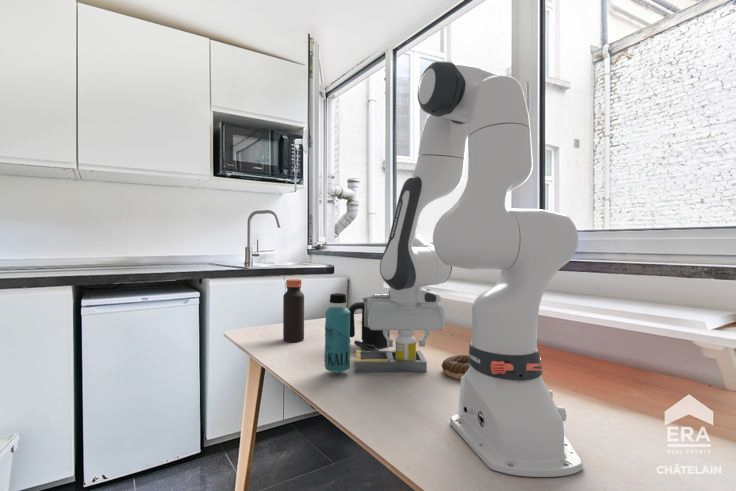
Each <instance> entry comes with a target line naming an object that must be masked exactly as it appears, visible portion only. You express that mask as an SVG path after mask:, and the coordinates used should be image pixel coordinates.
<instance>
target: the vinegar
mask: <svg viewBox="0 0 736 491" xmlns="http://www.w3.org/2000/svg"><path fill="white" fill-rule="evenodd" d="M285 282H286V283H285V284H286V285H285V286H286V289H287V290H286V292H284V294H283V298H282V303H283V304H282V309H283V310H282V312H283V315H282V318H283V319H282V320H283V322H282V323H283V324H282V334H283V335H282V337H283V342H285V341H286V342H285V343H292V342H293V343H298V342H297V341H300V342H303V341H304V340H303V339H305V295H304V293H303V292H302V290H301V289H302V279H299V278H295V279H293V278H291V279H290V278H289V279H286V281H285ZM302 340H303V341H302Z"/></svg>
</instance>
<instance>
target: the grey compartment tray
mask: <svg viewBox="0 0 736 491" xmlns="http://www.w3.org/2000/svg"><path fill="white" fill-rule="evenodd" d="M427 364H428V362H427V360H426V358H425V356H424V354H423V352H422V350H416V360H396V350H379V351H365V350H362V349H356V350H355V373H427Z"/></svg>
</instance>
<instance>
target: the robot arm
mask: <svg viewBox="0 0 736 491" xmlns="http://www.w3.org/2000/svg"><path fill="white" fill-rule="evenodd" d="M417 100H418V104H419V106H420V108H421V110H422V111H423V112H425V113H426V114H428V115H427V117H426V119H425V122H424V125H423V128H422V131H421V132H422V133H421V136H420V141H419V146H418V152H417V153H418V154H417V160H416V164H415V168H414V170H413V173H412V174H411V176H410V177H409V178H408V179H406V180H405V181H404V182H403V185H402V188H401V190H400V194H399V196H398V200H397V205H396V207H395V212H394V215H393V220H392V224H391V229H390V232H389V236H388V241H387V243H386V246H385V248H384V250H383V251H384V252H383V254H382V255H381V259H380V262H379V273H380V275H381V277H382V278H381V279H382V280H383V281H384V282H385V283H386V285H387V286H389V293H388V294H387V293H386V294H385V293H383V294H376V293H375V294H372V295H370V296H368V297H369V298H368V300H367V309H368V310H369V317H368V327H369V328H370V329H371V330H383V335H384V336H385V338H386V340H387V347H386V348H390V347H391V348H393V346H394V345H393V343H394V339H393V338H390V339H389V337H388V335H387V334H389V333H390V331H398V330H413V331H422V333H423V336H422V337H421V338H418V347H419V348H425V347H426V341H427V339H428V337H429V335H430V331H442V330H444V328H445V327H446V319H445V318H446V317H445V311H444V308H443V306H442V304H440V303H441V297H442V296H441V295H440V294H439V293H438V292H437V291H433V290H430V289H428V288H424V287H428V286H436V285H441V284H444V283H447V281H448V280H449V278H450V276H451V275H452V271H453V268H454V267H455V268H458V269H464V270H475V271H476V270H478V271H479V270H481V271H482V270H483V271H484V270H488V271H489V270H490V271H491V270H493V271H494V270H500V274H499V278H498V279H497V281H496V283H495V284H494V285H493V286H492V287H491V288H489V289H487V290H486V291H484V292H481V293H480V294H479V295H478V296H477V297H476V298H475V300H474V302H473V304H472V306H471V342H470V343H469V348H468V354H467V355H468V356H469V364H470V367H469V369H468V371H467V372H466V373H465V374H464V375H463V376H462V377H461V380H460V387H459V399H458V400H459V402H458V405H459V406H458V413H455V414H453V415H452V416H450V420H449V422H450V423H449V424H450V426H452V428H453V429H454V430H455V431H456V432H457V433H458V434H459V436H460V437H462V439H463V440H464V441H465V442H466V443H467V445H468V446H469V447H470V448H471V449H472V451H473V452H474V453H475V454H477V456H478V457H479V458H480V460H482V461H483V463H484V464H485V465H486V466H487V467H488V468H489V469H491V470H492V471H496V472H499V473H503V474H507V475H512V476H521V477H531V478H532V477H534V478H535V477H536V478H548V477H552V478H553V477H554V478H555V477H563V476H570V475H574V474H577V473H579V472H581V471H582V470H583V469H584V466H583V465H584V464H583V460H582V459H581V457H580V456H579V454H578V453H577V452H576V449H575V448H574V447H573V445H572V444H571V442H570V441H569V439H568V438H567V436H566V435H565V430H564V428H565V427H564V422H566V421H567V412H566V408H565V407H564V406H561V405H556V403H555V401H554V399H553V391H552V390H551V389H550V390H549V389H548V387H547V385H546V382H545V381H544V379H543V373H544V372H543V367H542V366H543V362H542V358H541V356H540V350H539V348H538V347H537V346H538V344H537V343H538V342H537V341H538V340H537V339H538V323H539V322H538V321H539V312H540V311H539V310H540V305H541V301H542V299H543V295H544V293H545V290H547V289H546V288H547V286H548V285H549V283H550V281H551V280H552V279H553V277H554V276H555V274H556V273H557V272H558V271H560V270H561V268H562V267H564V266H565V265H566V264H568V263H569V262H570V261H571V260H572V259H573V258H574V257H575V254H576V251H577V249H578V247H579V234H578V230H577V228H576V225H575V223H574V221H573V220H572V219H571V218H570V217H569V216H568V215H566V214H564V213H559V212H555V211H552V210H547V209H540V208H508V207H507V206H506V200H507V199H506V198H507V194H508V193H510V192H511V191H513V190H515V189H516V188H519V187H520V186H522V185H523V184H524V183H525V182H526V181H528V179H529V177H530V176H531V175H532V173H533V172H532V171H533V169H534V168H533V167H534V165H533V164H534V163H533V161H534V160H533V147H532V135H531V134H532V133H531V123H530V122H531V121H530V115H529V110H528V109H529V108H528V104H527V100H526V96H525V94H524V90H523V87H522V84H521V83H520V82H519V80H517V79H516V78H515V77H513V76H510V75H506V74H498V73H495V72H492V71H490V70H487V69H483V68H480V67H479V66H476V65H470V64H463V63H453V62H452V61H450V60H439V61H434V62H432V63H431V64H429V65H428V67H426V69H425V70H424V71H423V72H422V75H421V76H420V79H419V82H418V87H417ZM467 145H468V146H467ZM467 148H468V151H467ZM467 152H468V153H467ZM466 154H467V155H468V159H467V160H468V166H467V179H466V183H465V186H464V189H463V191H462V193H461V195H460V196H459V199H458V200H457V201H456V203H455V204H454V205H453V206H452V207H450V209H449V210H447V211H446V212H445V213H444V214H442V215H441V216H440V218H439V219H438V221H437V222H436V224H435V227H434V229H433V233H432V234H433V235H432V243H430V242H428V241H427V240H425V239H424V237H423V236H422V235H421V234H420V233H417V232H416V230H417V228H418V227H417V226H418V222H419V220H420V219H419V218H420V216H421V214H422V211H423V210H424V208H425V207H426V206H427V205H429V204H431V203H433V202H434V201H435V200H437V199H438V200H439V199H441V198H442V197H445V196H447V195H450V194H451V193H453V192H454V191H455V190H456V189H457V188H458V187H459V185H460V184H461V182H462V181H463V180H462V179H463V176H464V172H465V165H466V156H467V155H466ZM372 297H373V298H372ZM389 298H390V300H389ZM389 330H390V331H389Z"/></svg>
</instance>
